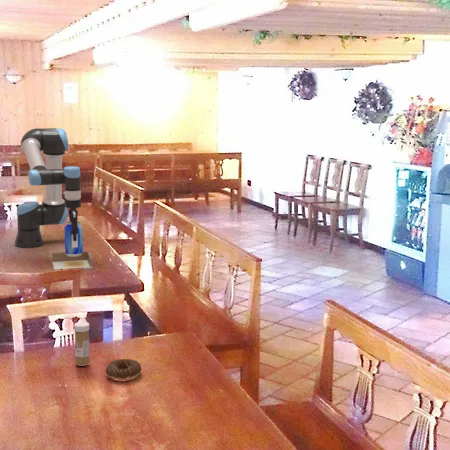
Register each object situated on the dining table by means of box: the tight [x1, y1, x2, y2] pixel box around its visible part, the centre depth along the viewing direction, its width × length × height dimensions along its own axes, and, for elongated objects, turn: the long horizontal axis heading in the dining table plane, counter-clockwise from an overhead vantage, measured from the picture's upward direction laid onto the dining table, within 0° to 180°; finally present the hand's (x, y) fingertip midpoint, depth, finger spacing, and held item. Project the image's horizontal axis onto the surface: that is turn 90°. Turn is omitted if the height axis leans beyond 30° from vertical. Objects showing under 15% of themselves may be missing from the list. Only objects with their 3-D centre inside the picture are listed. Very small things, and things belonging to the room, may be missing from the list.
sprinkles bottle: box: [73, 321, 90, 366], centre depth 199 cm, size 5×5×14 cm
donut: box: [105, 358, 142, 380], centre depth 193 cm, size 11×11×4 cm
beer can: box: [63, 221, 84, 257], centre depth 313 cm, size 8×8×16 cm
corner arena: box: [51, 250, 94, 271], centre depth 316 cm, size 15×18×5 cm
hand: (74, 245), depth 314 cm, fingers closed on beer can, 8 cm apart
